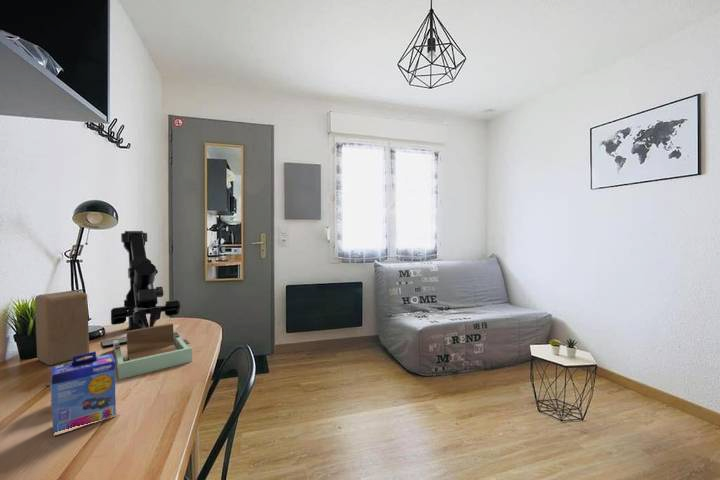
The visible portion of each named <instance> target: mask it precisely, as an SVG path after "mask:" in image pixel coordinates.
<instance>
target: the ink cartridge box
mask: <svg viewBox="0 0 720 480" xmlns="http://www.w3.org/2000/svg"><path fill="white" fill-rule="evenodd" d="M112 354H113V353H108V354H104V355H100V356H97V351H91V352H90V351H89V353H86V354H81V355H76V356H73V359H72V360H71V362H66V363H60V364H56V365H54V366H52V367H51V370H50V371H51V372H50V385H51V390H50V402H51V404H50V405H51V420H52V422H51V423H52V434H53V433H55V432H58V431H61V430H65V429H69V428H72V427H75V426H80V425H84V424H88V423H91V422H95V421H99V420H103V419H105V418H109V417H111V416H114V415H116V416H117V404H116V359H114V357H113V355H112ZM84 357H87V358H84ZM80 358H81V359H80ZM82 358H83V359H82Z"/></svg>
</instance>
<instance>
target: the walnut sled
mask: <svg viewBox="0 0 720 480" xmlns="http://www.w3.org/2000/svg"><path fill="white" fill-rule="evenodd" d="M173 330H174V324H173V323H167V324H159V325H154V326H153V327H147V328H141V329H136V330H127V331H126V349H127V350H126V352H127V353H126V354H127V361H130V360H134V359H139V358H143V357H148V356H153V355H157V354H162V353H166V352H171V351H175V350H178V349H177V347H176V346H175V345H174V336H173Z"/></svg>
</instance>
